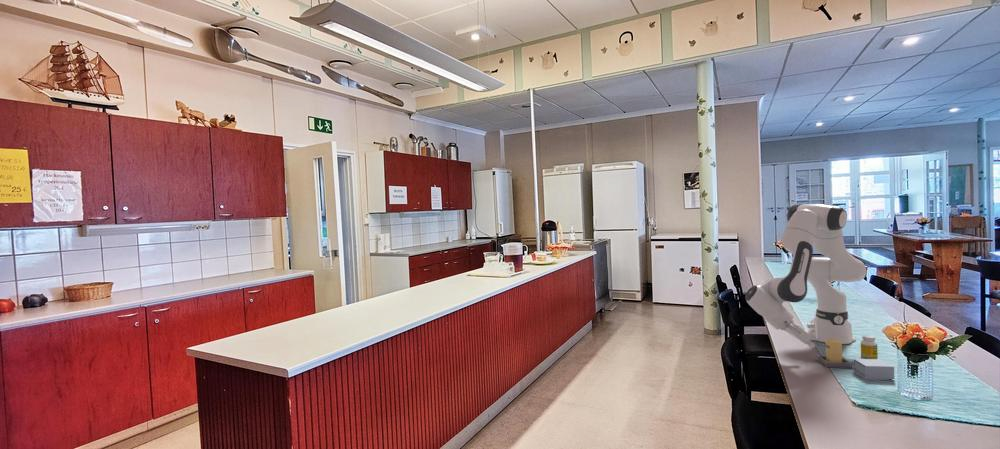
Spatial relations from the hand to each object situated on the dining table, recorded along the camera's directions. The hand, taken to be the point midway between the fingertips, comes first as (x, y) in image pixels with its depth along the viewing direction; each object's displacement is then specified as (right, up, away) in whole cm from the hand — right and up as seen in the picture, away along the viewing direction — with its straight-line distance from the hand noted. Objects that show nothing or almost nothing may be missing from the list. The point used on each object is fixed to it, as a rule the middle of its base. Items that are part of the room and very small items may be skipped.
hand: (807, 343), depth 183 cm
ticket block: (+15, -8, -14) cm, 22 cm away
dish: (+10, -8, -1) cm, 13 cm away
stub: (+10, -8, -1) cm, 12 cm away
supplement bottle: (+27, -8, +2) cm, 28 cm away
